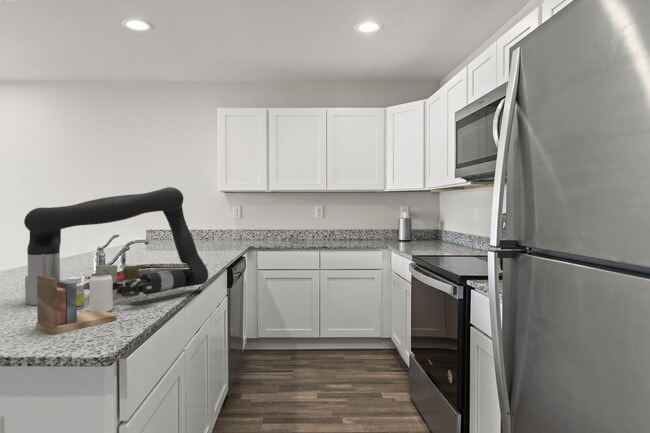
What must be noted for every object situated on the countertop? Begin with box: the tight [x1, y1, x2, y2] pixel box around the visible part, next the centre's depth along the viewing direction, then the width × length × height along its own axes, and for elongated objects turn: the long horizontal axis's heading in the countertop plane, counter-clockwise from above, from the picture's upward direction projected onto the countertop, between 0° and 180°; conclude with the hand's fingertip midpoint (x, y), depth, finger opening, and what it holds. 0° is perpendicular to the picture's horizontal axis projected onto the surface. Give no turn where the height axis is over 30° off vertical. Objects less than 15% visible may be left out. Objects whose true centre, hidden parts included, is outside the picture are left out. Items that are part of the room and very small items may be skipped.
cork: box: [121, 265, 140, 297], centre depth 155 cm, size 6×6×11 cm
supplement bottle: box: [66, 276, 85, 310], centre depth 134 cm, size 6×6×10 cm
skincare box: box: [95, 264, 118, 299], centre depth 148 cm, size 6×4×12 cm
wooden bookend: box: [35, 275, 117, 336], centre depth 116 cm, size 17×10×14 cm, turn 144°
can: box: [89, 272, 114, 313], centre depth 130 cm, size 6×6×12 cm
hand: (111, 289), depth 133 cm, fingers open, 8 cm apart
